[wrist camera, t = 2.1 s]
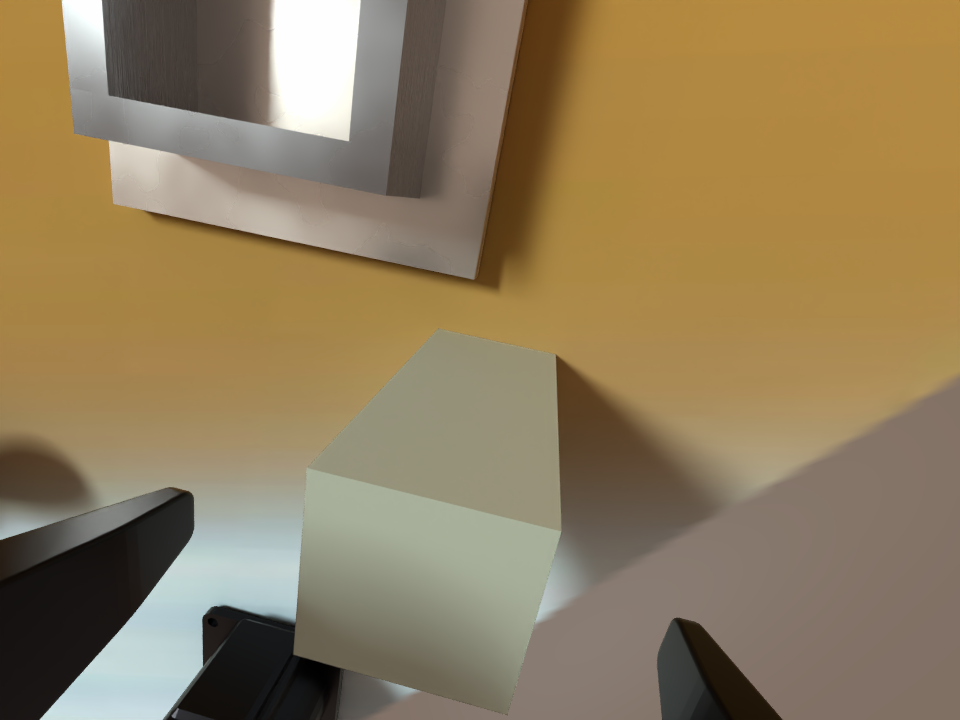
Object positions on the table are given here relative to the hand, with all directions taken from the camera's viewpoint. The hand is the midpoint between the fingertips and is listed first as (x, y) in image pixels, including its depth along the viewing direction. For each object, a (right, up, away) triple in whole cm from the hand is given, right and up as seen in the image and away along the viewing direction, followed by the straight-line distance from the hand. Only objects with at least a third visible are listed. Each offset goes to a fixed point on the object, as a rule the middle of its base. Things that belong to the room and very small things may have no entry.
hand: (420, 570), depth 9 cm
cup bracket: (-4, +13, +5) cm, 15 cm away
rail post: (+1, +3, +8) cm, 8 cm away
